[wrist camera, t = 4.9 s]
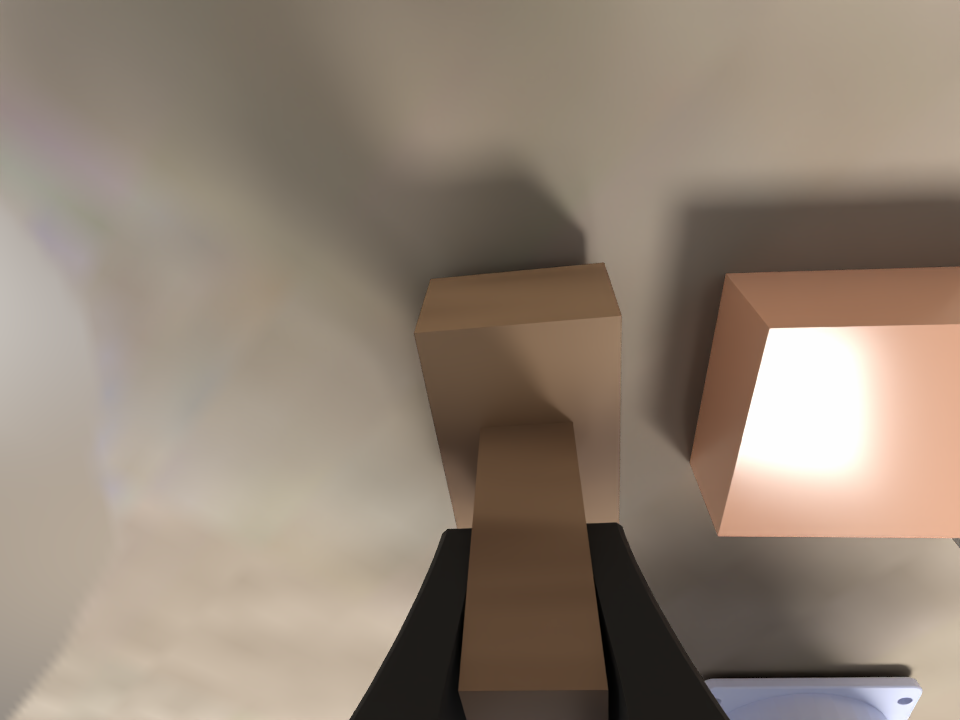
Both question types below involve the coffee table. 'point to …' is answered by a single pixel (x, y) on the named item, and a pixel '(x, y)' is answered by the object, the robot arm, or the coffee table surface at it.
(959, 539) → the frame
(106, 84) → the coffee table surface
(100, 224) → the coffee table surface
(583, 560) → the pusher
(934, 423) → the tile
